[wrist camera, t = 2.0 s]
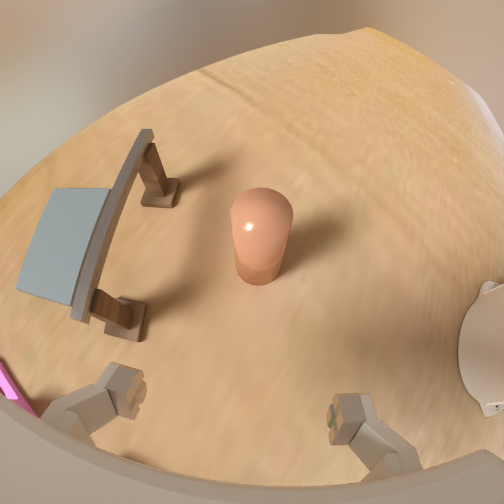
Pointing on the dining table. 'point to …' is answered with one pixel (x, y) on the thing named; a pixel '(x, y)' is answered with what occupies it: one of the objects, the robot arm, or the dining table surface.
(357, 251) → the dining table surface
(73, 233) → the pad
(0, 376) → the bracket
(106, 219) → the metal bar
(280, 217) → the terracotta cylinder
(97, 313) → the hurdle posts
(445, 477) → the robot arm
